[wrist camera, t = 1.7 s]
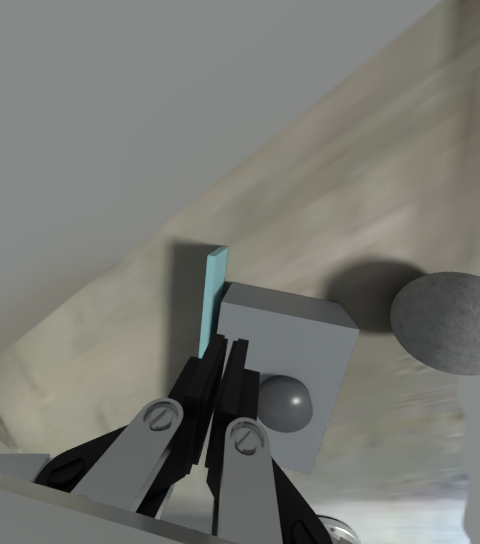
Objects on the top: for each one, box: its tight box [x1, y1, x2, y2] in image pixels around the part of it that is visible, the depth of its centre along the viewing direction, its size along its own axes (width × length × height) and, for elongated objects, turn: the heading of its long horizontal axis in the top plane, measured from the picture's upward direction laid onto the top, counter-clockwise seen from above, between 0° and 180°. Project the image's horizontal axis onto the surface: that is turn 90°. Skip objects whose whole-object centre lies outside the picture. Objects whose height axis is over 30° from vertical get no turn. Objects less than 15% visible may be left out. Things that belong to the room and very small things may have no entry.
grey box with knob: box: [204, 282, 360, 475], centre depth 28 cm, size 20×14×9 cm
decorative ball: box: [390, 272, 480, 376], centre depth 23 cm, size 10×10×10 cm
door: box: [198, 246, 228, 358], centre depth 29 cm, size 26×1×7 cm, turn 173°
